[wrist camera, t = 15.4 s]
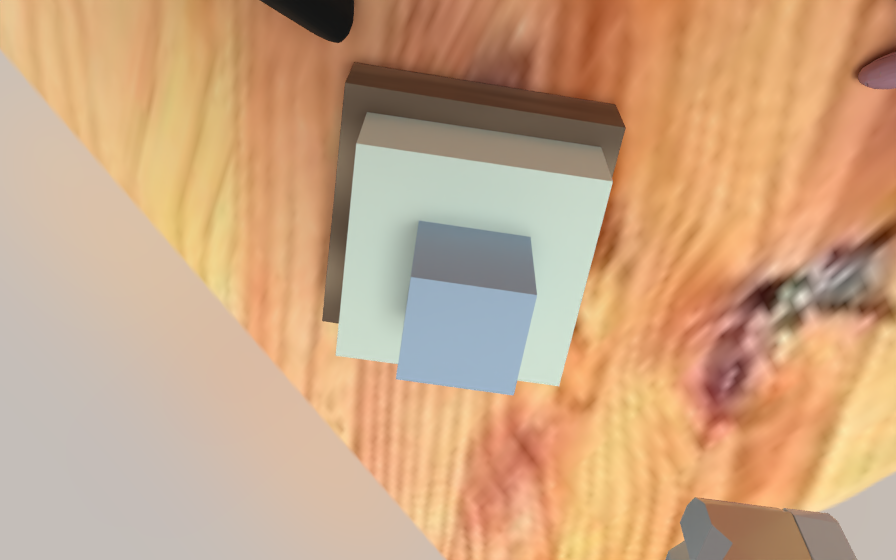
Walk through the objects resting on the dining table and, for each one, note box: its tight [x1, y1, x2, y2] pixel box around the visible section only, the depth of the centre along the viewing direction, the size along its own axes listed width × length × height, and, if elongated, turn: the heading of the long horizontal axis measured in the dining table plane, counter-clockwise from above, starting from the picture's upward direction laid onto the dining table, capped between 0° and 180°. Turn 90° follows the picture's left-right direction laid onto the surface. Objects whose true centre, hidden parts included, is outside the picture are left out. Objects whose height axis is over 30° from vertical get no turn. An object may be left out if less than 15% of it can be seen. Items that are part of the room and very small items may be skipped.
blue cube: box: [396, 221, 537, 395], centre depth 37 cm, size 5×5×5 cm
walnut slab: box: [322, 62, 625, 323], centre depth 44 cm, size 13×13×4 cm
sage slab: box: [336, 112, 613, 386], centre depth 41 cm, size 11×11×4 cm
